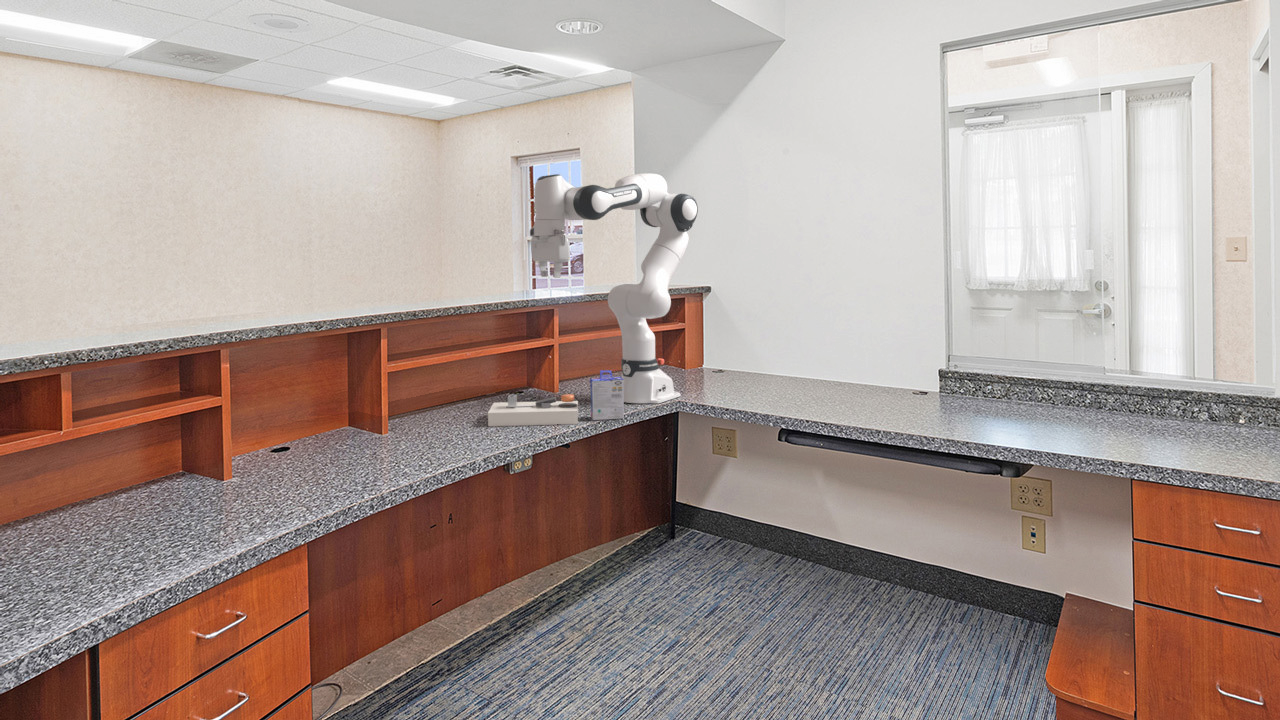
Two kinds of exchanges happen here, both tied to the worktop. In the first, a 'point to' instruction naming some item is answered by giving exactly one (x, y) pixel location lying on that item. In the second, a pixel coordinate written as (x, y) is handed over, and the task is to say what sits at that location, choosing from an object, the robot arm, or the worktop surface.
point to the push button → (567, 398)
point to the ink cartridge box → (607, 397)
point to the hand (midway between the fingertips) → (550, 277)
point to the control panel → (533, 414)
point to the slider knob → (512, 400)
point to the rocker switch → (546, 401)
